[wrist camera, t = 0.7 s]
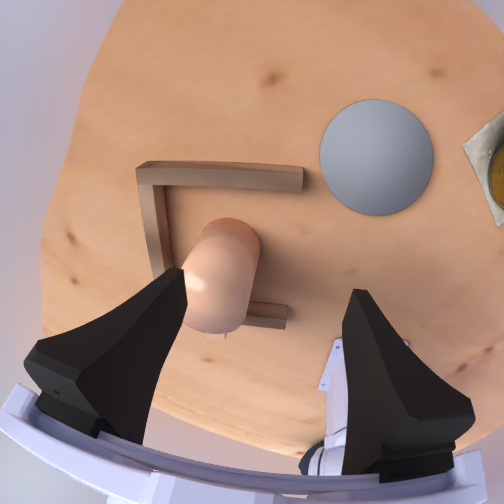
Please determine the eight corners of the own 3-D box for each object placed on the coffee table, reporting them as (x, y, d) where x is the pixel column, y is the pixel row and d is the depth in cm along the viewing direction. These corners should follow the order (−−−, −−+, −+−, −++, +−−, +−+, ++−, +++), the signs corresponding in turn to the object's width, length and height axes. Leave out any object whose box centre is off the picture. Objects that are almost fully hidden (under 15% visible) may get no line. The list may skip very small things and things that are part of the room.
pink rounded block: (258, 293, 25) (245, 358, 19) (204, 287, 26) (179, 347, 20) (261, 220, 22) (246, 279, 16) (198, 215, 22) (162, 269, 16)
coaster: (416, 218, 19) (419, 222, 19) (313, 205, 20) (314, 208, 20) (437, 113, 15) (441, 114, 15) (324, 90, 16) (325, 90, 15)
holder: (286, 315, 26) (285, 329, 25) (168, 300, 27) (161, 312, 26) (302, 167, 19) (303, 175, 17) (147, 161, 20) (135, 168, 19)
